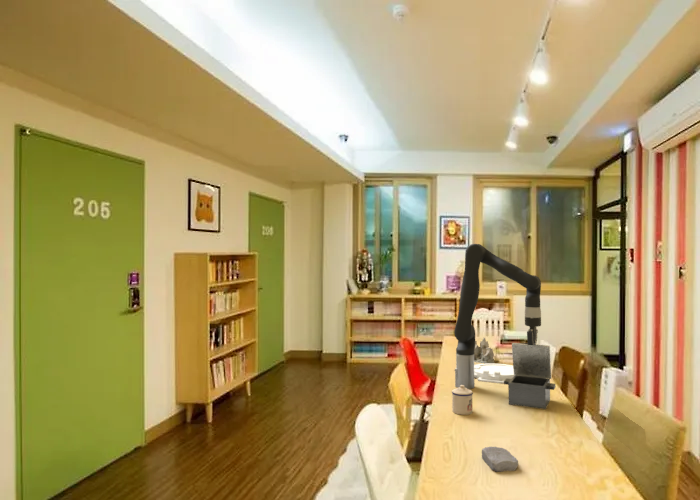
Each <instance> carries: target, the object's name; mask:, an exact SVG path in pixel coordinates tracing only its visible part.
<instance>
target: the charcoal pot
mask: <svg viewBox="0 0 700 500" xmlns="http://www.w3.org/2000/svg"><path fill="white" fill-rule="evenodd" d="M504 385H507V386H508V388H507V389H508V405H510V406H518V407H525V408H532V409H541V410H547V408H548V405H549V403H550V401H551V391H552V390H553V391H555V389H556V383H551V379H547V378H537V377H527V376H518V375H515V376H514V377H513V378H512V379H507V378H506V380H505V381H504Z"/></svg>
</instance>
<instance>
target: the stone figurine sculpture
mask: <svg viewBox="0 0 700 500" xmlns="http://www.w3.org/2000/svg"><path fill="white" fill-rule="evenodd" d="M493 349H494V348H491V347H490V346H489V341H487V340H486V337H483V339H481V341H480V342H479V345H478V343H477V340H475V350H474V363H477V364H483V363H484V364H487V363H494V364H495V358H494V357H495V353H494V350H493Z"/></svg>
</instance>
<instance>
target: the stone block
mask: <svg viewBox="0 0 700 500" xmlns="http://www.w3.org/2000/svg"><path fill="white" fill-rule="evenodd" d="M481 458H482V460H483V461H484V463H486V465H487V466H488V467H489V469H491V470H492V471H494V472H495V473H497V472H507V471H508V472H515V471H516V469H518V466H519V460H518V459H517V457H515V456H514V455H513V454H511V452H510V451H508V450H507V448H503V447H497V446H487V447H484V448H482V449H481Z"/></svg>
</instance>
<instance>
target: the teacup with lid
mask: <svg viewBox="0 0 700 500" xmlns="http://www.w3.org/2000/svg"><path fill="white" fill-rule="evenodd" d="M451 394H452V395H451V397H452V403H451V404H452V406H451V408H452V412H453V413H454V414H457V415H463V416H466V415H471V414H472V413H473V411H474V410H473V394H474V392H473V391H472V390H471V389H467V388H465V386H464V385H460V387H456V388H454V389H452V390H451Z"/></svg>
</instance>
